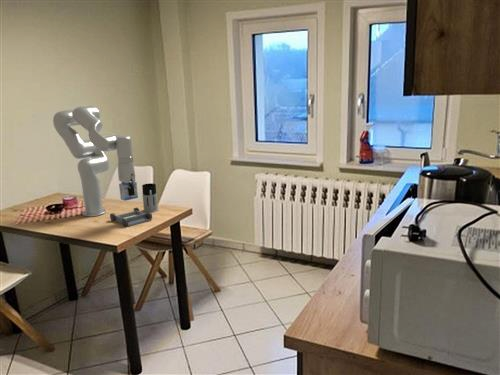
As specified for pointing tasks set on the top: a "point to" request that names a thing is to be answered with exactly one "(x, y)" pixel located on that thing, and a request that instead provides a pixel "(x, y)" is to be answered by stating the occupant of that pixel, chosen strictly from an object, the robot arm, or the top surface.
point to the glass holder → (150, 198)
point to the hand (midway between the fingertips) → (129, 194)
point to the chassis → (131, 218)
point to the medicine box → (124, 191)
